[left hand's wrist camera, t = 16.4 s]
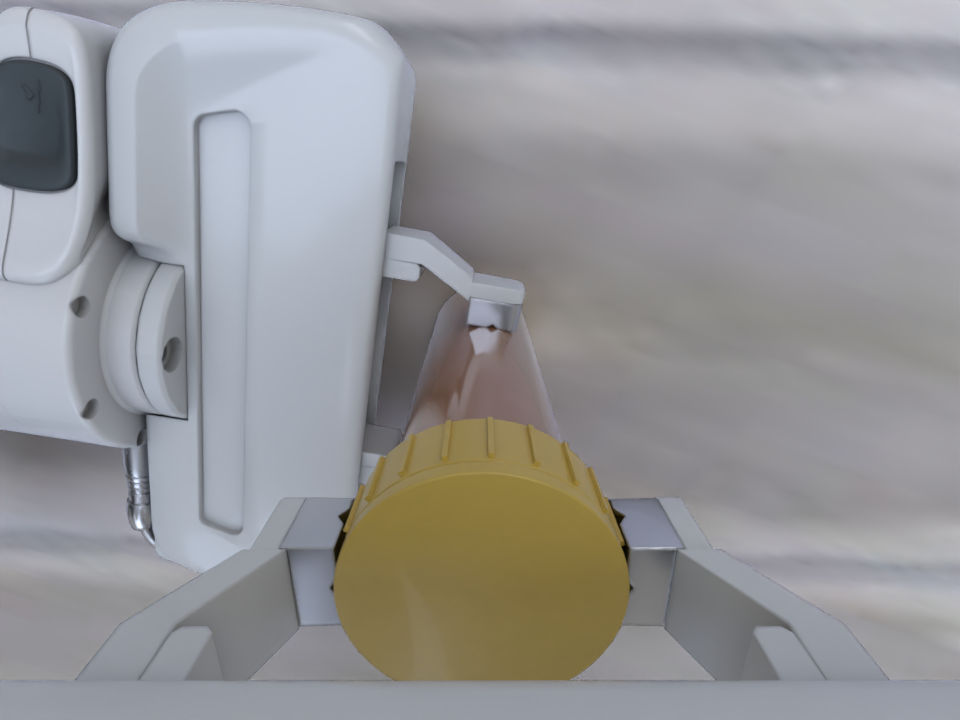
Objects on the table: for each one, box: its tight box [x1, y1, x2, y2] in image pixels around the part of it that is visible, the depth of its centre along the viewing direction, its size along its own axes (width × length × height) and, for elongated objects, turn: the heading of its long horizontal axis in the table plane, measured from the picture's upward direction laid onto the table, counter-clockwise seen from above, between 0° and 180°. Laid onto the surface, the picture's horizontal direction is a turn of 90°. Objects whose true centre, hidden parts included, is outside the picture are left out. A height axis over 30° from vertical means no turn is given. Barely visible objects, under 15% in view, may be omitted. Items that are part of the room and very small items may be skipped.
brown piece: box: [400, 292, 562, 443], centre depth 17 cm, size 4×4×15 cm
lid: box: [333, 417, 630, 681], centre depth 10 cm, size 5×5×2 cm
